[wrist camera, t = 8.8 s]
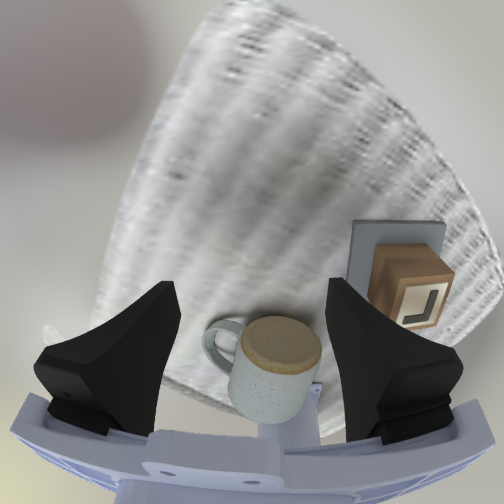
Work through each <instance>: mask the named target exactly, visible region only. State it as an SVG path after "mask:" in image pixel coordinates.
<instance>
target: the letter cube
mask: <svg viewBox="0 0 504 504" xmlns="http://www.w3.org/2000/svg"><path fill="white" fill-rule="evenodd" d="M454 276H455V273H454V272H453V271H452V270H451V269H450V268H449V267H448V266H447V265H446V263H445V262H444V261H443V260H442V259H441V258H440V257H439V256H438V255H437V254H436V253H435V252H434V251H433V250H432V249H431V248H430V247H429V246H428V245H427V244H426V243H422V244H389V245H375V252H374V258H373V264H372V270H371V276H370V282H369V287H368V292H367V297H368V299H369V302H370V304H371V305H373V306H374V307H375V308H376V309H377V310H379V311H380V312H381V313H383V314H384V315H385V316H387V317H388V318H390V319H391V320H393V321H394V322H396V323H397V324H399V325H400V326H402V327H404V328H406V329H407V330H409V331H410V330H416V329H422V328H428V327H433V326H436V325H437V323H438V320H439V318H440V315H441V313H442V310H443V308H444V305H445V302H446V299H447V297H448V294H449V291H450V288H451V285H452V282H453V279H454Z"/></svg>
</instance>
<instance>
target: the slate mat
mask: <svg viewBox="0 0 504 504" xmlns="http://www.w3.org/2000/svg"><path fill="white" fill-rule="evenodd" d="M446 226H447V225H446V224H445V223H444V222H418V221H353V227H352V237H351V246H350V254H349V262H348V270H347V277H346V282H348V283H349V284H350V285H351V286H352V287H353V288H354V289H355V290H356V291H357V292H358V293H359V294H360V295H361V296H362V297H363V298H364V299H366V300H367V301H368V302H369V299H368V297H367V292H368V287H369V282H370V276H371V270H372V264H373V258H374V252H375V245H389V244H422V243H426V244H427V245H428V246H429V247H430V248H431V249H432V250H433V251H434V252H435V253H436V254H437V255H438V256H440V252H441V248H442V244H443V240H444V235H445V231H446ZM369 303H370V302H369Z"/></svg>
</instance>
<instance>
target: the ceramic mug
mask: <svg viewBox="0 0 504 504" xmlns="http://www.w3.org/2000/svg"><path fill="white" fill-rule="evenodd" d="M218 330H222V331H225V332H228V333H231V334H232V335H235V336H237V337H239V341H238V344H237V347H236V352H235V358H234V363H233V364H232V363H231V362H230V361H228V360H227V359H225V358H224V357H223V356H222V355H221V354H220V353H219V352H218V350H217V349H216V347H215V346H214V337H215V334H216V333H217V332H218ZM202 347H203V350H204V353H205V354H206V356H207V358H208V359H209V360H210V361H211V363H212V364H213V365H214V366H216V367H217V368H218V369H219V370H220V371H221V372H223V373H224V374H226V375H228V376H229V377H230V379H229V384H228V395H229V398H230V400H231V402H232V404H233V406H234V407H235V408H236V409H237V410H238V411H239V412H240V413H241V414H242V415H244V416H245V417H247V418H249V419H250V420H253V421H256V422H259V423H265V424H276V423H282V422H285V421H287V420H289V419H291V418H293V417H294V416H295V415H296V414H297V413H298V412H299V411H300V409H301V408H302V406H303V403H304V401H305V399H306V396H307V394H308V392H309V389H310V387H311V384H312V382H313V379H314V377H315V375H316V373H317V370H318V368H319V364H320V360H321V352H322V348H321V343H320V340H319V338H318V337H317V335H316V334H315V333H314V332H313V330H312V329H310V328H309V327H308V326H307V325H305V324H303V323H301V322H300V321H298V320H295V319H292V318H288V317H284V316H268V317H262V318H259V319H256V320H255V321H253V322H251V323H250V324H249V325H248V326H247V327H245V326H243V325H242V324H240V323H238V322H235V321H230V320H219V321H217V322H215V323H213V324H212V325H211V326H210V327H209V328H208V329H207V330H206V331H205V333H204V335H203V339H202Z"/></svg>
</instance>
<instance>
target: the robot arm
mask: <svg viewBox="0 0 504 504" xmlns="http://www.w3.org/2000/svg"><path fill="white" fill-rule="evenodd" d="M325 316H326V323H327V329H328V334H329V337H330V341H331V344H332V348H333V351H334V354H335V358H336V361H337V365H338V369H339V373H340V378H341V385H342V392H343V401H344V410H345V423H346V443H340V444H332V445H324V446H321V445H320V434H319V425H318V417H317V406H318V402H319V398H320V394H321V390H322V385H321V384H311V387H310V389H309V392H308V394H307V396H306V399H305V401H304V403H303V406H302V408H301V409H300V411H299V412H298V413H297V414H296V415H295V416H294V417H293V418H291V419H289V420H287V421H285V422H282V423H276V424H265V423H259V422H258V437H249V436H225V435H211V434H200V433H190V432H182V431H175V430H157V431H155V432H154V422H155V414H156V406H157V401H158V395H159V389H160V385H161V380H162V376H163V372H164V369H165V366H166V363H167V360H168V358H169V355H170V352H171V349H172V347H173V344H174V341H175V338H176V335H177V333H178V328H179V324H180V319H181V312H180V308H179V304H178V299H177V295H176V291H175V287H174V282H173V281H161V282H159V283H158V284H156V285H155V286H154V287H153V288H151V289H150V290H149V291H148V292H146V293H145V294H144V295H143V296H142V297H140V298H139V299H138V300H137V301H135V302H134V303H133V304H131V305H130V306H129V307H127V308H126V309H125V310H123V311H122V312H121V313H119V314H118V315H117V316H115V317H114V318H112V319H110V320H109V321H107V322H106V323H104V324H102V325H100V326H98V327H97V328H95V329H93V330H91V331H89V332H87V333H85V334H82V335H80V336H78V337H75V338H73V339H70V340H67V341H64V342H61V343H58V344H54V345H51V346H47V347H46V348H45V349H44V350H43V352H42V353H41V355H40V356H39V358H38V360H37V361H36V363H35V364H34V371H35V374H36V376H37V378H38V379H39V380H40V382H41V383H42V384H43V386H44V387H45V388H46V390H47V391H48V392H49V393H50V394H51V395H52V397H53V399H52V401H51V403H50V402H49V401H48V400H47V399H45V398H43V397H40V396H38V395H36V394H33V393H29V395H28V397H27V398H26V400H25V402H24V403H23V405H22V407H21V409H20V411H19V413H18V415H17V417H16V418H15V420H14V422H13V424H12V426H11V429H10V432H11V433H12V434H13V435H14V436H15V437H17V439H19V440H20V441H21V442H22V443H24V444H25V445H26V446H27V447H28V448H30V449H31V450H32V451H33V452H35V453H36V454H37V455H39V456H40V457H41V458H43V459H45V460H47V461H48V462H50V463H52V464H55V465H56V466H58V467H60V468H62V469H64V470H66V471H68V472H70V473H72V474H74V475H76V476H78V477H80V478H82V479H84V480H86V481H88V482H91V483H93V484H95V485H98V486H100V487H102V488H105V489H107V490H110V491H113V492H115V493H117V494H116V498H115V502H114V504H376V503H379V502H383V501H386V500H390V499H393V498H396V497H399V496H402V495H405V494H407V493H410V492H413V491H415V490H418V489H421V488H423V487H425V486H428V485H430V484H433V483H435V482H437V481H440V480H442V479H444V478H446V477H448V476H451V475H453V474H455V473H457V472H459V471H461V470H463V469H465V468H466V467H468V466H469V465H470V464H471V463H473V462H475V461H476V460H477V459H479V458H480V457H481V456H482V455H484V454H485V453H486V452H488V451H489V450H490V449H491V448H492V447H494V446H495V444H496V442H495V439H494V437H493V434H492V432H491V429H490V427H489V425H488V422H487V420H486V417H485V415H484V413H483V410H482V408H481V406H480V404H479V402H478V400H477V399H473V400H471V401H469V402H466V403H463V404H461V405H458V406H457V407H455V408H454V409H452V410H451V409H450V406H449V404H450V403H451V398H450V395H449V393H450V392H451V390H452V389H453V388H454V386H455V385H456V383H457V382H458V380H459V379H460V377H461V375H462V372H463V364H462V362H461V360H460V358H459V357H458V355H457V353H456V352H455V350H454V348H451V347H448V346H445V345H442V344H439V343H435V342H433V341H430V340H428V339H426V338H423V337H421V336H419V335H417V334H415V333H413V332H411V331H409V330H407V329H406V328H404V327H402V326H400V325H399V324H397V323H396V322H394V321H393V320H391V319H390V318H388V317H387V316H385V315H384V314H383V313H381V312H380V311H379V310H377V309H376V308H375V307H374V306H373V305H371V304H370V303H369V302H368V301H367V300H366V299H364V298H363V297H362V296H361V295H360V294H359V293H358V292H357V291H356V290H355V289H354V288H353V287H352V286H351V285H350V284H349V283H348V282H346V281H345V280H344V279H343V278H329V285H328V294H327V302H326V309H325Z"/></svg>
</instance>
